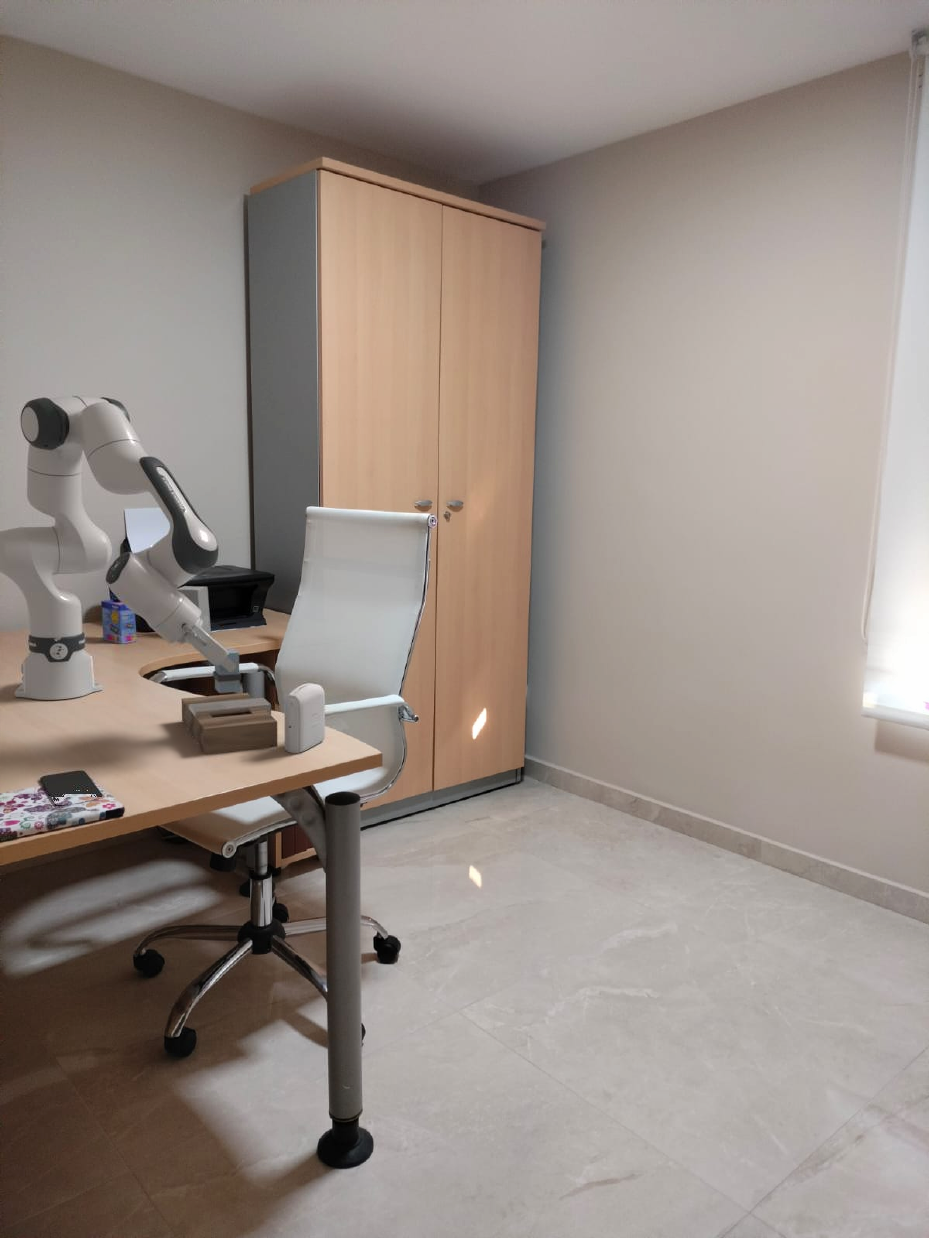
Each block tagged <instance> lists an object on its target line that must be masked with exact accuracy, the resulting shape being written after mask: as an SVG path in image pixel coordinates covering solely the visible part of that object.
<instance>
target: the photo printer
mask: <svg viewBox="0 0 929 1238" xmlns="http://www.w3.org/2000/svg"><path fill="white" fill-rule="evenodd" d="M325 693H326V692H325V690H324V689H323V686H321V684H316V683H304V684H302V685H301V684H300V685H299V686H297V687H296V688H294V689H292V690H291V691H290V692H289V693H288V694H287V695H286V697H285V699H284V704H283V706H284V707H283V708H284V711H283V712H284V750H286V752H287V753H290V754H300V753H303V752H304V751H308V750H309V749H311V748H312V747H315V746H316V745H318V744H320V743H321V742H323V741H324V740H325V737H326V724H325V723H326V709H325V708H326V696H325V695H326V694H325Z"/></svg>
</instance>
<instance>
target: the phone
mask: <svg viewBox="0 0 929 1238" xmlns="http://www.w3.org/2000/svg"><path fill="white" fill-rule="evenodd" d="M39 779H40V783H41V785H42V787H43V788H45V789H46V790H47V791H46V790H45V789H44V790H45V791H46V793H47V792H48V793H49V794H50V796H51V797H53V800H54V801H55V800H56V801H57V800H58V801H59V799H58V798H57V799H56V798H55V797H64V795H65V794H96V796H97V797H102V796H103V797H104V794H103V793H102V791H101V790H100V789H99V788H98V787H97V785H96V784H95V782H94V781H93V779H91V777H90V776H89V775H88V773H87V772H86V771H85V770H82V769H81V770H80V769H79V770H73V771H67V772H66V771H64V772H59V773H53V774H47V775H42V776H41V777H40V778H39ZM76 790H77V791H76ZM78 790H80V791H78ZM87 790H88V791H87ZM48 793H47V794H48ZM49 794H48V795H49ZM63 794H64V795H63ZM62 795H63V796H62ZM50 796H49V797H50ZM94 796H95V795H94ZM96 796H95V797H96ZM91 797H92V795H91Z"/></svg>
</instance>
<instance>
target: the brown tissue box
mask: <svg viewBox="0 0 929 1238" xmlns="http://www.w3.org/2000/svg"><path fill="white" fill-rule="evenodd" d="M243 699H254V698H253V697H252V696H251V694H250V693H248V692H243V693H242V692H241V693H229V694H219V695H208V696H195V697H187V698H186V697H185V698H184V697H183V698H181V722H182V721H183V722H184V723H183V722H182V723H183V725H184V724H185V725H184V726H185V728H186V727H187V728H188V729H187V728H186V729H187V730H189V731H188V732H189V734H190V733H191V734H190V735H191V736H193V737H192V739H194V741H195V740H196V741H195V743H196V744H197V743H198V744H197V745H198V746H200V747H199V748H200V750H201V749H202V750H201V751H202V753H203V754H204V755H210V754H211V755H212V754H217V753H218V754H219V753H227V752H228V753H229V752H236V751H237V752H238V751H246V750H253V749H263V748H270V747H278V720H277V719H275V718H274V716H272V714H271V715H270V714H269V713H268V712H267V711H266V710H259V711H249V712H239V713H228V714H218V715H207V716H197V717H195V716H194V715H193V713H192V712H191V711H190V709H189V704H199V703H210V702H221V701H232V700H243Z"/></svg>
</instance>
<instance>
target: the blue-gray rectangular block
mask: <svg viewBox="0 0 929 1238" xmlns="http://www.w3.org/2000/svg"><path fill="white" fill-rule="evenodd" d="M226 650H227V651H228V653H229V655H228V656H227V657H228V658H229V659H230V660H231V661H232V662H233V663H234V664H235V665H236V668H235V669H234V670H233V671H232V672H229V671H228V670H227V669H226V668H224V667H223V666H222V665H218V666H215V665H214V671H212V677H213V678H214V689H215V690H216V691H217V692H218V693H219V694H226V693H227V694H228V693H236V692H240V681H242V674H241V673H240V652H239V651H238V650H236V649H235V648H231V649H230V648H228V649H226Z"/></svg>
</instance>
